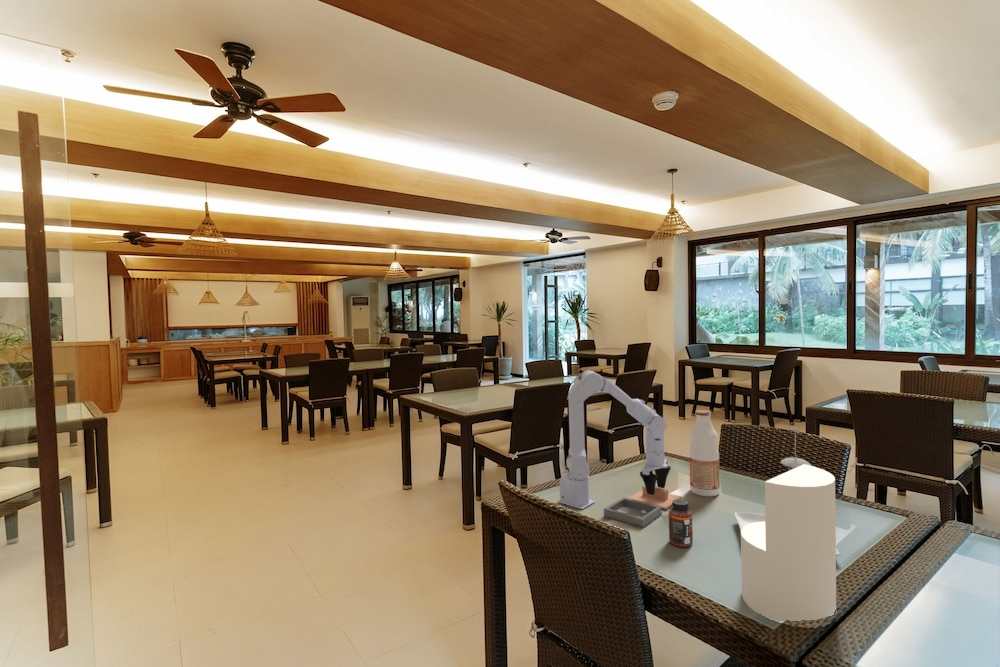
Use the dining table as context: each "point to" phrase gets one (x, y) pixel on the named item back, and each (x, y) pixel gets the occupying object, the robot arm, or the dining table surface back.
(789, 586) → the white stepped round block
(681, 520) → the supplement bottle
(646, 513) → the tub
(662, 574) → the dining table surface
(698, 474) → the fruit juice
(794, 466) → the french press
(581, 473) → the robot arm
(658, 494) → the lid
